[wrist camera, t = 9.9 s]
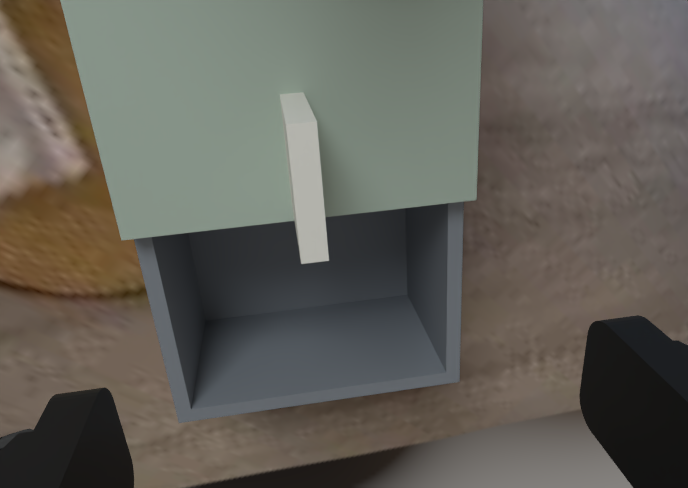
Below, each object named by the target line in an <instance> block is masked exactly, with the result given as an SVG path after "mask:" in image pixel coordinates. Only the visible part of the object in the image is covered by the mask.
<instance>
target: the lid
mask: <svg viewBox="0 0 688 488" xmlns="http://www.w3.org/2000/svg"><path fill="white" fill-rule="evenodd" d="M60 1H61V5H62V9H63V12H64V16H65V20H66V24H67V28H68V32H69V36H70V40H71V44H72V48H73V52H74V56H75V60H76V64H77V67H78V71H79V75H80V79H81V83H82V87H83V91H84V95H85V99H86V103H87V107H88V111H89V115H90V118H91V122H92V126H93V130H94V134H95V138H96V142H97V146H98V150H99V154H100V158H101V162H102V166H103V169H104V173H105V177H106V181H107V185H108V189H109V193H110V197H111V201H112V205H113V209H114V213H115V217H116V221H117V224H118V228H119V232H120V236H121V240H129V239H138V238H147V237H156V236H165V235H173V234H182V233H191V232H200V231H209V230H217V229H226V228H235V227H244V226H253V225H261V224H270V223H279V222H288V221H295V228H296V234H297V240H298V247H299V253H300V259H301V264H306V263H314V262H323V261H329V255H328V243H327V232H326V220H325V217H332V216H340V215H349V214H358V213H367V212H376V211H384V210H393V209H402V208H411V207H420V206H428V205H437V204H446V203H455V202H464V201H472V200H476V198H477V169H478V139H479V110H480V80H481V51H482V21H483V0H60Z"/></svg>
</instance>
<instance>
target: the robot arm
mask: <svg viewBox="0 0 688 488" xmlns="http://www.w3.org/2000/svg"><path fill="white" fill-rule="evenodd" d="M580 405H581V410H582V413H583V416H584V419H585V421H586V424H587V426H588V427H589V429H590V431H591V432H592V433H593V435H594V436H595V437H596V439H597V440H598V441H599V443H600V444H601V445H602V446H603V448H604V449H605V451H606V452H607V453H608V455H609V456H610V457H611V459H612V460H613V461H614V463H615V464H616V465H617V466H618V468H619V469H620V470H621V472H622V473H623V474H624V476H625V477H626V478H627V480H628V481H629V482H630V484H631V485H632V486H633V488H688V345H686V344H684V343H682V342H680V341H672V340H671V339H670V338H669V337H668V336H667V335H665V334H664V333H663V332H662V331H661V330H659V329H658V328H657V327H656V326H655V325H653V324H652V323H651V322H650V321H649V320H647V319H646V318H644V317H642V316H630V317H623V318H616V319H608V320H601V321H595V322H593V323H592V324H591V326H590V328H589V330H588V335H587V343H586V350H585V358H584V365H583V373H582V380H581V388H580ZM0 488H134V471H133V464H132V459H131V456H130V452H129V449H128V446H127V442H126V439H125V436H124V433H123V429H122V426H121V423H120V419H119V416H118V413H117V410H116V406H115V403H114V400H113V397H112V395H111V393H110V391H109V390H108V389H107V388H99V389H91V390H84V391H77V392H70V393H62V394H56V395H54V396H53V397H52V398H51V399H50V400H49V402H48V404H47V406H46V408H45V410H44V412H43V414H42V415H41V417H40V419H39V421H38V423H37V425H36V427H35V429H34V431H32V432H25V433H18V434H17V435H16V436H15V437H14V438H13V439H12V440H11V441H10V442H9V443H8V444H7V445H6V446H4V447H3V448H2V449H1V450H0Z"/></svg>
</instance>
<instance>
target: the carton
mask: <svg viewBox="0 0 688 488" xmlns="http://www.w3.org/2000/svg"><path fill="white" fill-rule="evenodd" d="M463 211H464V202H455V203H446V204H437V205H428V206H420V207H411V208H402V209H393V210H384V211H376V212H367V213H358V214H349V215H340V216H332V217H325V220H326V232H327V243H328V255H329V261H323V262H314V263H306V264H301V259H300V253H299V247H298V240H297V234H296V228H295V221H288V222H279V223H270V224H261V225H253V226H244V227H235V228H226V229H217V230H209V231H200V232H191V233H182V234H173V235H165V236H156V237H147V238H138V239H134V241H135V245H136V249H137V253H138V257H139V261H140V266H141V270H142V274H143V278H144V282H145V286H146V290H147V294H148V298H149V302H150V306H151V311H152V315H153V319H154V323H155V327H156V331H157V335H158V339H159V343H160V347H161V352H162V356H163V360H164V364H165V368H166V372H167V376H168V380H169V384H170V388H171V392H172V397H173V401H174V405H175V409H176V413H177V417H178V421H179V423H182V422H189V421H196V420H203V419H209V418H216V417H223V416H230V415H237V414H243V413H250V412H257V411H264V410H271V409H278V408H284V407H291V406H298V405H305V404H312V403H319V402H325V401H332V400H339V399H346V398H353V397H359V396H366V395H373V394H380V393H387V392H394V391H400V390H407V389H414V388H421V387H428V386H435V385H441V384H448V383H455V382H459V379H460V337H461V295H462V253H463Z"/></svg>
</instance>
